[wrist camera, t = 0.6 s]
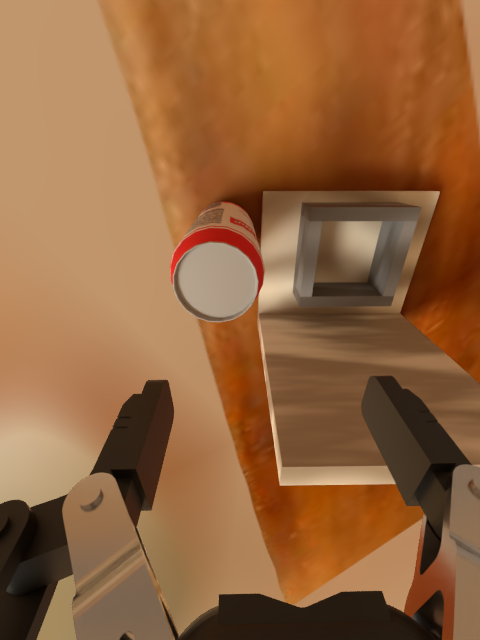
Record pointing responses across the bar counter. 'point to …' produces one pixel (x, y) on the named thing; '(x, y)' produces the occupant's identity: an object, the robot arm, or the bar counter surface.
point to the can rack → (348, 331)
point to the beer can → (218, 264)
